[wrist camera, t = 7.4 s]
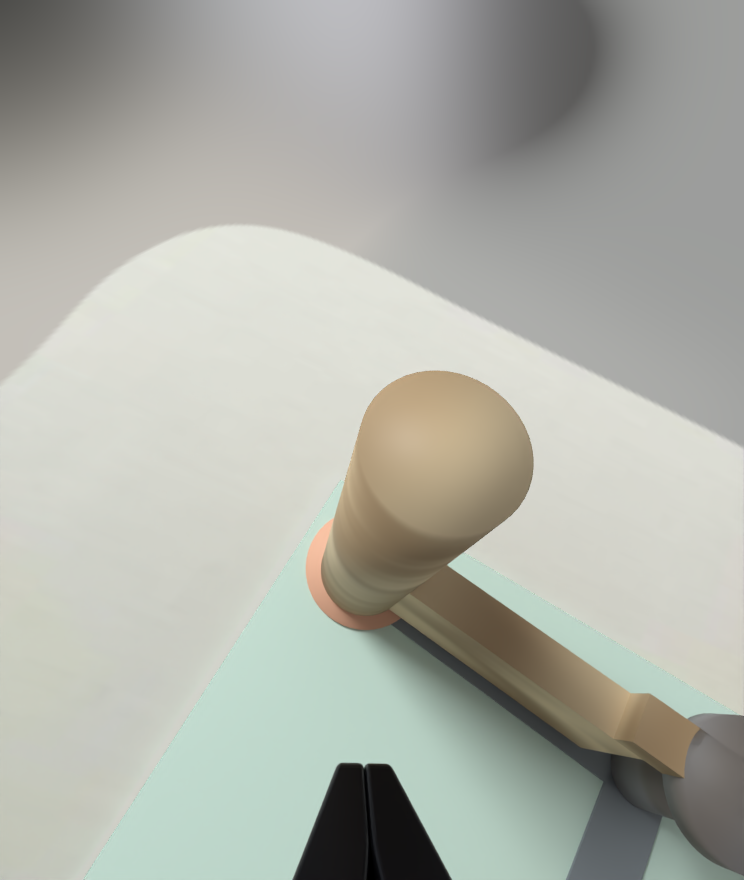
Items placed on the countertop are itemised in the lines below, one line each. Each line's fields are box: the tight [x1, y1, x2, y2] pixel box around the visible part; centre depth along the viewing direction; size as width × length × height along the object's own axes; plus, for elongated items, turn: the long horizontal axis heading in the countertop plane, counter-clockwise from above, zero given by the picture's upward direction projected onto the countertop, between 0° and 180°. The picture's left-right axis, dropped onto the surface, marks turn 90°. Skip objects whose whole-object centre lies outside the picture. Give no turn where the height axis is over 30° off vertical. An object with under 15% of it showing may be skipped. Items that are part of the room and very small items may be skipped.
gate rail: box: [321, 371, 744, 876], centre depth 12 cm, size 13×3×10 cm, turn 56°
